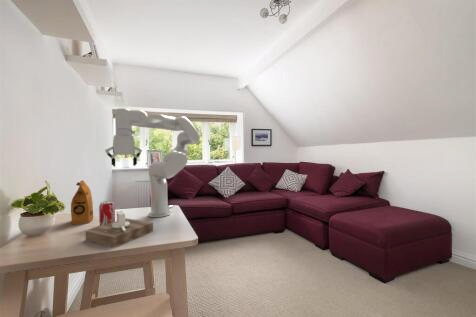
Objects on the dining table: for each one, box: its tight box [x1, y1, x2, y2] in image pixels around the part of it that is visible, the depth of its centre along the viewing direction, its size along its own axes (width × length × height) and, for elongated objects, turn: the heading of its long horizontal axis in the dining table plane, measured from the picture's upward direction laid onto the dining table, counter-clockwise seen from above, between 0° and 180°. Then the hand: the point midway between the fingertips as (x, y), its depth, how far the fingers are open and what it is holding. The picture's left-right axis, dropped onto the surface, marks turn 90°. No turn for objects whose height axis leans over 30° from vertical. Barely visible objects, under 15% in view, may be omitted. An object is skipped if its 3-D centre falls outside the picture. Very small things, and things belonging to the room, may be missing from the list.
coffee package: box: [70, 179, 94, 226], centre depth 124 cm, size 10×12×22 cm
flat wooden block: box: [85, 217, 154, 248], centre depth 103 cm, size 20×18×4 cm
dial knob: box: [112, 210, 130, 231], centre depth 100 cm, size 13×7×6 cm, turn 36°
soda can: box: [98, 200, 116, 227], centre depth 117 cm, size 7×7×12 cm
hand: (124, 165), depth 119 cm, fingers open, 9 cm apart
